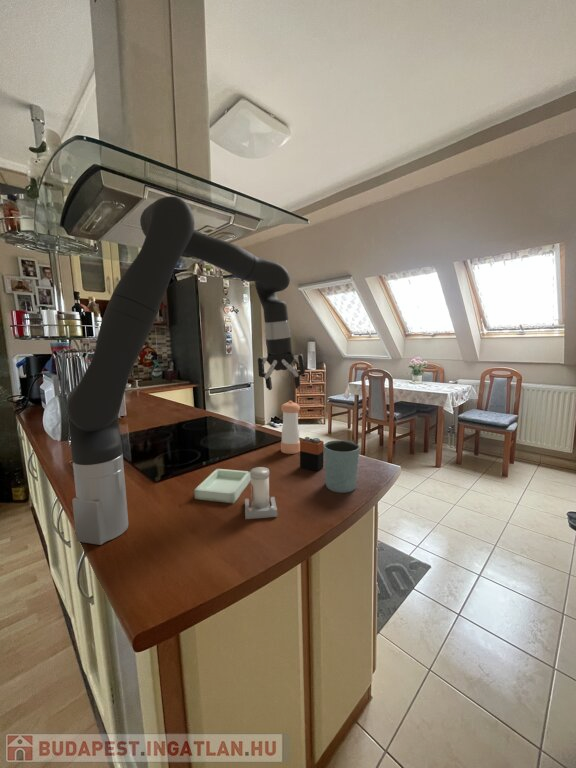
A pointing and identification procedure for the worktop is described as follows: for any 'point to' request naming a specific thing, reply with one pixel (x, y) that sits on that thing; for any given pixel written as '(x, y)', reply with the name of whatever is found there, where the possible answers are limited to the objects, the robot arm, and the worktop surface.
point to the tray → (223, 485)
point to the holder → (260, 511)
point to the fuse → (260, 488)
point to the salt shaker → (290, 428)
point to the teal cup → (341, 465)
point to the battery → (311, 453)
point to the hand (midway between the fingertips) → (283, 388)
